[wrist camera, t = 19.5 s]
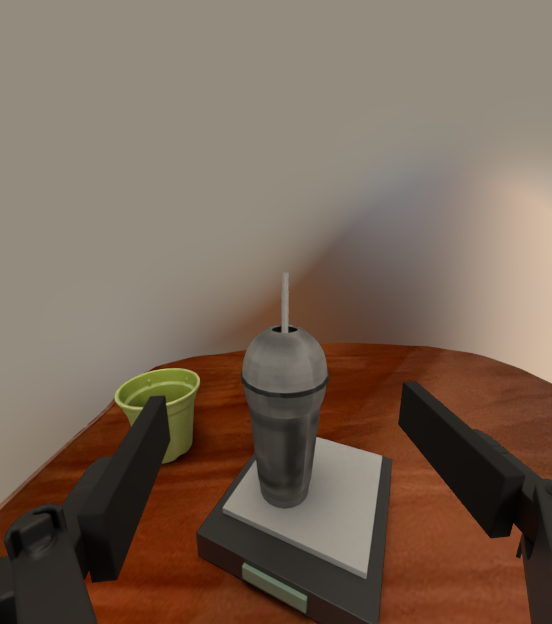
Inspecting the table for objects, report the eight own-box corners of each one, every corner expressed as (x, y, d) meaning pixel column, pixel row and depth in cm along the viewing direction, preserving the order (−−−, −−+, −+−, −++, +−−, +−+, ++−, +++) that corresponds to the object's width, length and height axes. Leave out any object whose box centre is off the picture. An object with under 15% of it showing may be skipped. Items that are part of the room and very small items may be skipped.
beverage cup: (318, 457, 30) (325, 266, 25) (330, 524, 23) (343, 277, 18) (249, 457, 30) (242, 266, 25) (240, 524, 23) (228, 277, 18)
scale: (195, 559, 23) (192, 530, 23) (274, 441, 37) (274, 420, 36) (374, 661, 18) (378, 627, 17) (390, 477, 31) (392, 454, 30)
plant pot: (111, 481, 31) (98, 411, 29) (141, 426, 40) (132, 370, 38) (199, 472, 32) (193, 404, 30) (208, 421, 41) (204, 365, 39)
